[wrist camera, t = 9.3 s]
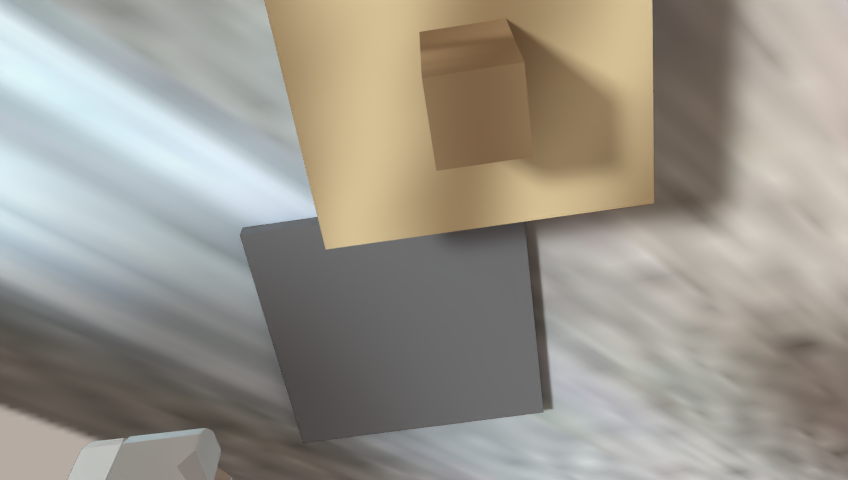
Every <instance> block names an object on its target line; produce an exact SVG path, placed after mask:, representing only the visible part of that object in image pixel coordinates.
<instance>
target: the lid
mask: <svg viewBox="0 0 848 480" xmlns="http://www.w3.org/2000/svg"><path fill="white" fill-rule="evenodd" d="M264 1H265V5H266V9H267V13H268V17H269V21H270V25H271V30H272V34H273V38H274V42H275V46H276V50H277V54H278V58H279V62H280V66H281V70H282V74H283V78H284V82H285V86H286V90H287V95H288V99H289V103H290V107H291V111H292V115H293V119H294V123H295V127H296V131H297V135H298V139H299V143H300V147H301V151H302V155H303V160H304V164H305V168H306V172H307V176H308V180H309V184H310V188H311V192H312V196H313V200H314V204H315V208H316V212H317V216H318V221H319V225H320V229H321V233H322V237H323V241H324V245H325V249H333V248H340V247H347V246H354V245H362V244H369V243H376V242H383V241H390V240H397V239H404V238H411V237H418V236H425V235H432V234H440V233H447V232H454V231H461V230H468V229H475V228H482V227H489V226H496V225H503V224H510V223H517V222H525V221H532V220H539V219H546V218H553V217H560V216H567V215H574V214H581V213H588V212H595V211H603V210H610V209H617V208H624V207H631V206H638V205H645V204H652V203H654V136H653V18H652V0H264Z"/></svg>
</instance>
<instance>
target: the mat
mask: <svg viewBox="0 0 848 480" xmlns="http://www.w3.org/2000/svg"><path fill="white" fill-rule="evenodd" d="M240 237H241V240H242V244H243V247H244V250H245V253H246V257H247V260H248V263H249V266H250V270H251V273H252V276H253V280H254V283H255V286H256V289H257V293H258V296H259V299H260V303H261V306H262V309H263V312H264V316H265V319H266V322H267V326H268V329H269V332H270V335H271V339H272V342H273V345H274V349H275V352H276V355H277V358H278V362H279V365H280V368H281V372H282V375H283V378H284V381H285V385H286V388H287V391H288V395H289V398H290V401H291V404H292V408H293V411H294V414H295V417H296V421H297V424H298V427H299V431H300V434H301V437H302V440H303V443H306V442H314V441H322V440H329V439H337V438H345V437H353V436H361V435H369V434H377V433H384V432H392V431H400V430H408V429H416V428H424V427H432V426H440V425H447V424H455V423H463V422H471V421H479V420H487V419H495V418H502V417H510V416H518V415H526V414H534V413H542V412H544V411H543V401H542V391H541V381H540V371H539V361H538V351H537V342H536V332H535V322H534V312H533V302H532V292H531V282H530V272H529V262H528V252H527V242H526V232H525V222H517V223H510V224H503V225H496V226H489V227H482V228H475V229H468V230H461V231H454V232H447V233H440V234H432V235H425V236H418V237H411V238H404V239H397V240H390V241H383V242H376V243H369V244H362V245H354V246H347V247H340V248H333V249H325V245H324V241H323V237H322V233H321V229H320V225H319V221H318V217H315V218H308V219H301V220H294V221H287V222H280V223H273V224H266V225H259V226H252V227H245V228H243V229H242V231H241V234H240Z"/></svg>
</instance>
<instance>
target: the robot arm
mask: <svg viewBox="0 0 848 480" xmlns="http://www.w3.org/2000/svg"><path fill="white" fill-rule="evenodd" d="M220 454H221V448H220V446H219V444H218V441H217V439H216V437H215V434H214V432H213V431H212V430H210V429H207V428H200V429H191V430H183V431H174V432H165V433H156V434H147V435H139V436H130V437H129V438H119V439H110V440H101V441H93V442H90V443H89V444H88V445H86V446H85V447H84V448H82V450H81V452H80V453H79V455H78V458H77V460H76V462H75V464H74V466H73V468H72V471H71V472H70V474H69V477H68V479H67V480H232V477H231V476H230V475H228V474H227V473H225V472H224V471H222V470H221V469H219V468H218V467H217V466H218V462H219V458H220Z"/></svg>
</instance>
